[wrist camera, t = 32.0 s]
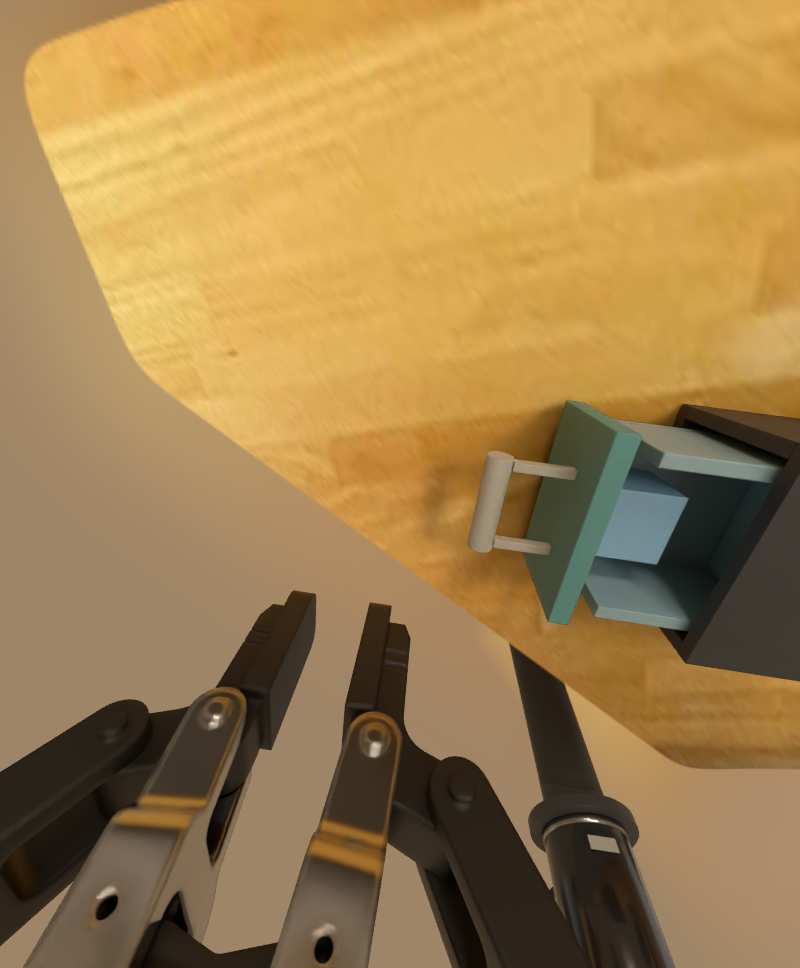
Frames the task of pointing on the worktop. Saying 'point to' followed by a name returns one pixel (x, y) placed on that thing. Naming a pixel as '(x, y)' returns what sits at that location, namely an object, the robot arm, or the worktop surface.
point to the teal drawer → (592, 498)
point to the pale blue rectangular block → (642, 519)
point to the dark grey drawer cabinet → (753, 563)
